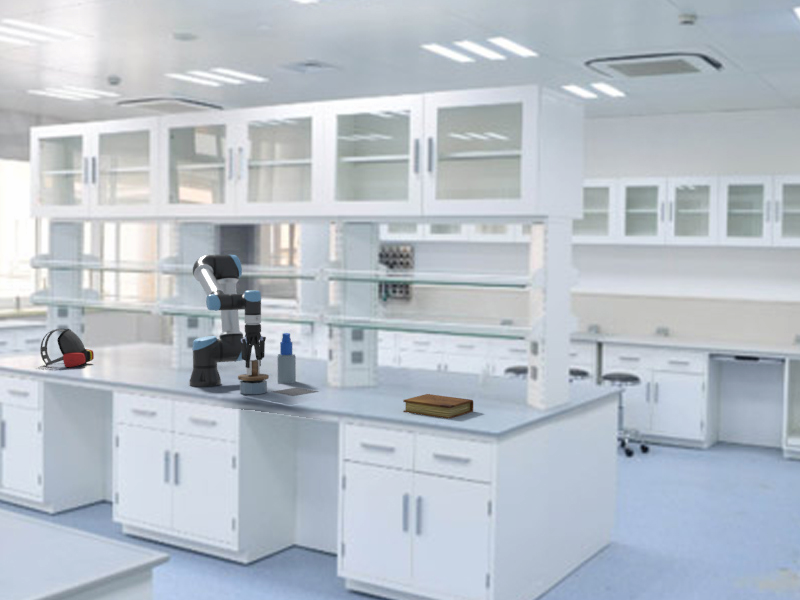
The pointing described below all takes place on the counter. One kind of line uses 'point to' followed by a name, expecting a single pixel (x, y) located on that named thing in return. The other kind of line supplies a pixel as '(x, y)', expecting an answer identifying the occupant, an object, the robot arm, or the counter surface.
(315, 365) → the counter surface
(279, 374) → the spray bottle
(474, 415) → the counter surface
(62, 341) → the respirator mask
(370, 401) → the counter surface
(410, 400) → the diary
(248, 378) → the lid
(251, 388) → the bowl
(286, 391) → the mat
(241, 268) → the robot arm
